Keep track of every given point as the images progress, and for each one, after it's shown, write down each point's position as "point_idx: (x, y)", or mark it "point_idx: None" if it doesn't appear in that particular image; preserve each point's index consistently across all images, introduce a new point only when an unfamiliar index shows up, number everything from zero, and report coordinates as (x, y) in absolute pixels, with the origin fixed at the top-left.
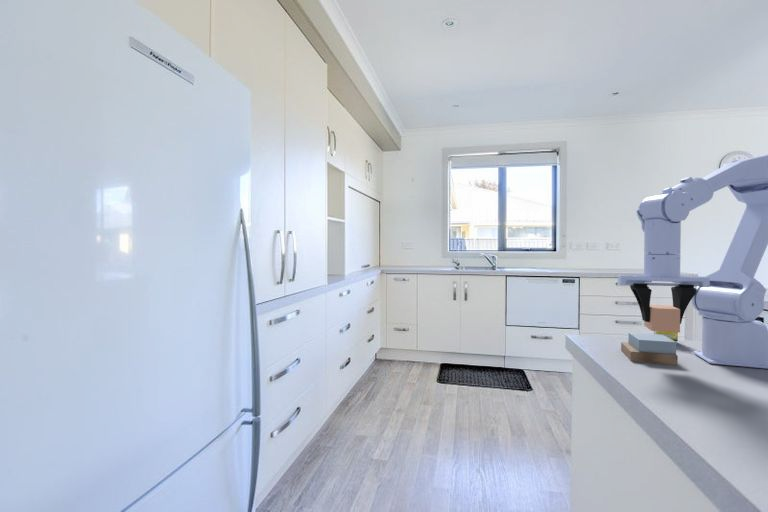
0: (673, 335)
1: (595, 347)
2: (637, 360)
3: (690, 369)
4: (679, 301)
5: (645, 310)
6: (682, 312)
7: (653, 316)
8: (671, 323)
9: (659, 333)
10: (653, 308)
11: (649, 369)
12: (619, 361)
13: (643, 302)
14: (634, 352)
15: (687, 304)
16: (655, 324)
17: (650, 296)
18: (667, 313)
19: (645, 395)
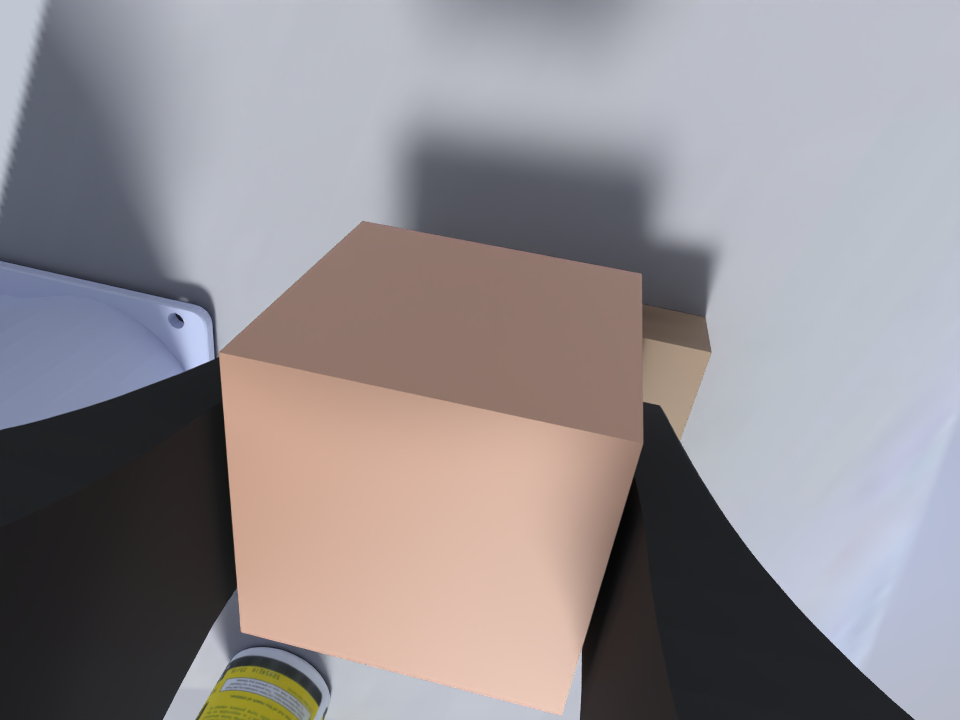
0: (235, 686)
1: (781, 588)
2: (659, 311)
3: (374, 175)
4: (133, 494)
5: (696, 489)
6: (203, 375)
7: (621, 360)
8: (414, 278)
9: (296, 717)
10: (622, 430)
11: (681, 115)
12: (809, 290)
13: (769, 587)
14: (681, 344)
15: (53, 422)
16: (600, 300)
17: (671, 650)
18: (422, 353)
19: None
